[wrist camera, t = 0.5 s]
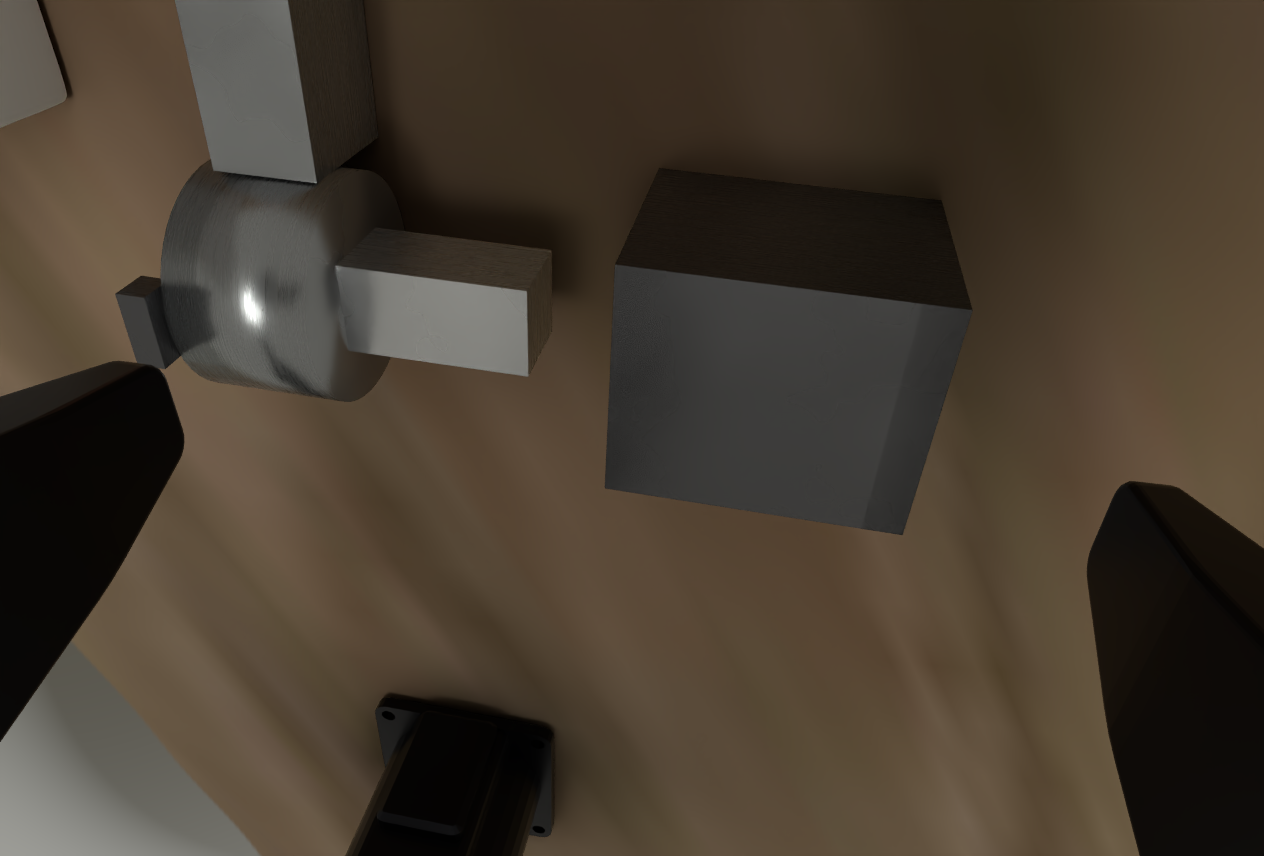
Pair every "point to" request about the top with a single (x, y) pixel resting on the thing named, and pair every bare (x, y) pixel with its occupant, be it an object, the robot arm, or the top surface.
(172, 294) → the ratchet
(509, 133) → the top surface
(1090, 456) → the top surface
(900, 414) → the dark-topped grey cube
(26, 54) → the milk carton
